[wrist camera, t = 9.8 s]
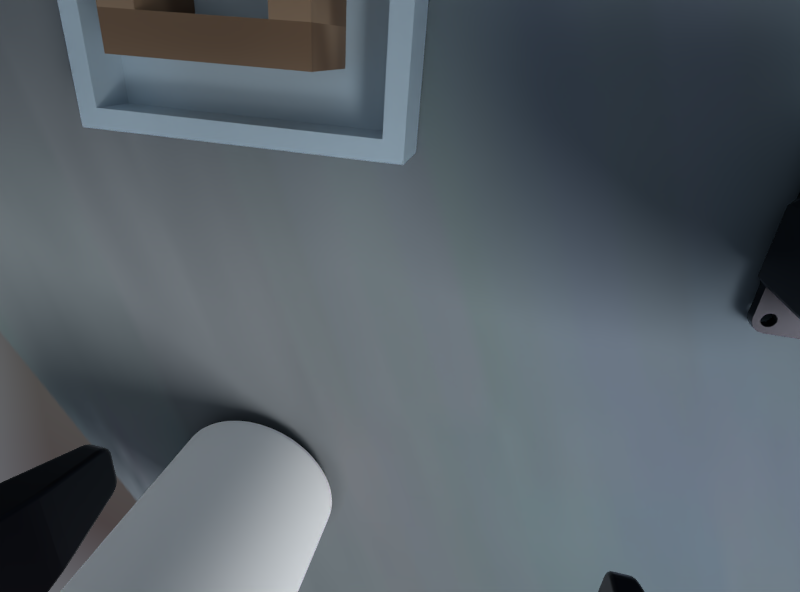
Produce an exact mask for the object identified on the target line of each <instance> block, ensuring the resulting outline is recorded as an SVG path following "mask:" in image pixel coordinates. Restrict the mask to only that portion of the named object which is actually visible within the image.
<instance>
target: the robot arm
mask: <svg viewBox="0 0 800 592" xmlns="http://www.w3.org/2000/svg"><path fill="white" fill-rule="evenodd" d="M758 277H759V278H760V280H761V284H760V286H759V288H758V291H757V293H756V295H755V298H754V300H753V302H752V305H751V307H750V309H749V312H748V316H747V318H748V321H749V323H750V324H751V325H752V327H753V328H754V329H755V330H757V331H758V332H761V333H765V334H772V335H778V336H784V337H791V338H797V339H800V193H799V195H798V198H797V199H796V200H795V201H794V202H792V203H791V204H789V205H788V206H787V208H786V211H785V213H784V215H783V218H782V220H781V223H780V225H779V227H778V230H777V232H776V234H775V237H774V239H773V241H772V244H771V246H770V249H769V251H768V253H767V256H766V258H765V260H764V263H763V265H762V267H761V270H760V272H759V275H758ZM766 314H772V317H771V318H770V319H769V320H767V321H762V322H761V321H760V319H761V318H762V317H763V316H764V315H766ZM116 483H117V479H116V474H115V470H114V465H113V461H112V457H111V453H110V451H109V450H108V449H106V448H103V447H99V446H95V445H84V446H81V447H79V448H77V449H74V450H72V451H70V452H68V453H66V454H63V455H61V456H59V457H57V458H55V459H52V460H50V461H48V462H46V463H44V464H41V465H39V466H37V467H35V468H32V469H30V470H28V471H26V472H24V473H21V474H19V475H17V476H15V477H13V478H10V479H8V480H6V481H4V482H2V483H0V592H48V591H49V590H50V589H51V587H52V586H53V585H54V583H55V582H56V581H57V579H58V578H59V576H60V575H61V574H62V572H63V571H64V569H65V568H66V566H67V565H68V563H69V562H70V560H71V559H72V557H73V556H74V554H75V553H76V551H77V550H78V548H79V546H80V545H81V543H82V542H83V540H84V539H85V537H86V535H87V534H88V532H89V531H90V529H91V527H92V526H93V524H94V522H95V521H96V520H97V518H98V516H99V515H100V513H101V512H102V510H103V508H104V507H105V505H106V503H107V502H108V501H109V499H110V497H111V496H112V494H113V492H114V490H115V487H116ZM598 592H644V590H643V589H642V587H641V586H640V584H639V583H638V581H637V580H636V579H635V578H633V577H632V576H629V575H625V574H621V573H617V572H613V571H609V572H607V573H606V575H605V576H604V579H603V581H602V584H601V586H600V588H599V591H598Z"/></svg>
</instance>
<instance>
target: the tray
mask: <svg viewBox="0 0 800 592" xmlns="http://www.w3.org/2000/svg"><path fill="white" fill-rule="evenodd" d="M57 2H58V7H59V12H60V17H61V22H62V27H63V32H64V37H65V42H66V47H67V52H68V57H69V62H70V67H71V71H72V76H73V81H74V86H75V91H76V96H77V101H78V106H79V111H80V116H81V121H82V126H83V127H87V128H95V129H103V130H112V131H120V132H129V133H137V134H146V135H154V136H163V137H171V138H179V139H188V140H196V141H205V142H213V143H222V144H230V145H238V146H247V147H255V148H264V149H272V150H281V151H289V152H297V153H306V154H314V155H323V156H331V157H340V158H348V159H357V160H365V161H373V162H382V163H390V164H399V165H404V164H405V163H406V162H407V161H408V160H409V159H410V158H411V157H412V156H413V155H414V154H415V153H416V147H417V135H418V123H419V111H420V98H421V86H422V74H423V62H424V50H425V38H426V26H427V14H428V2H429V0H347V8H346V61H345V69H337V70H327V71H317V72H306V71H295V70H283V69H272V68H261V67H250V66H239V65H227V64H216V63H205V62H194V61H183V60H171V59H160V58H149V57H138V56H127V55H115V54H105V52H104V46H103V41H102V35H101V29H100V23H99V17H98V12H97V6H96V0H57ZM194 6H195V14H206V15H219V16H233V17H247V18H260V19H268V0H194Z"/></svg>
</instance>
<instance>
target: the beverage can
mask: <svg viewBox="0 0 800 592" xmlns="http://www.w3.org/2000/svg"><path fill="white" fill-rule="evenodd" d="M331 507H332V496H331V490H330V486H329V483H328V481H327V478H326V476H325V474H324V472H323V471H322V469H321V467H320V466H319V465H318V463H317V462H316V461H315V459H314V458H313V457H312V456H311V455H310V454H309V453H308V452H307V451H306V450H305V449H304V448H303V447H302V446H300V445H299V444H298V443H297V442H295V441H294V440H292V439H291V438H289V437H288V436H286V435H284V434H282V433H281V432H278V431H276V430H274V429H272V428H269V427H267V426H264V425H260V424H257V423H252V422H246V421H223V422H218V423H214V424H211V425H209V426H207V427H205V428H203V429H201V430H200V431H198V432H197V433H196V434H195V435H194V436H193V437H192V438H191V439H190V440H189V442H188V443H187V444H186V445H185V446H184V447H183V449H182V450H181V451H180V452H179V453H178V454H177V456H176V457H175V458H174V459H173V460H172V461H171V463H170V464H169V465H168V466H167V467H166V468H165V470H164V471H163V472H162V473H161V474H160V475H159V477H158V478H157V479H156V480H155V481H154V482H153V484H152V485H151V486H150V487H149V488H148V489H147V491H146V492H145V493H144V494H143V495H142V496H141V498H140V499H139V500H138V501H137V502H136V503H135V505H134V506H133V507H132V508H131V509H130V511H129V512H128V513H127V514H126V515H125V516H124V517H123V519H122V520H121V521H120V522H119V523H118V524H117V526H116V527H115V528H114V529H113V530H112V531H111V533H110V534H109V535H108V536H107V537H106V538H105V540H104V541H103V542H102V543H101V544H100V545H99V547H98V548H97V549H96V550H95V551H94V552H93V554H92V555H91V556H90V557H89V558H88V559H87V561H86V562H85V563H84V564H83V565H82V566H81V568H80V569H79V570H78V571H77V572H76V574H75V575H74V576H73V577H72V578H71V579H70V580H69V582H68V583H67V584H66V585H65V587H63V589H62V590H61V591H60V592H298V590H299V588H300V586H301V583H302V581H303V578H304V576H305V573H306V571H307V569H308V566H309V564H310V561H311V559H312V557H313V554H314V552H315V549H316V547H317V545H318V542H319V540H320V537H321V535H322V533H323V530H324V528H325V525H326V523H327V521H328V518H329V515H330V512H331Z"/></svg>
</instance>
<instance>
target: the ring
mask: <svg viewBox="0 0 800 592" xmlns="http://www.w3.org/2000/svg"><path fill="white" fill-rule="evenodd" d="M96 6H97V12H98V17H99V23H100V29H101V35H102V41H103V46H104V52H105V54H115V55H127V56H138V57H149V58H160V59H171V60H183V61H194V62H205V63H216V64H227V65H239V66H250V67H261V68H272V69H283V70H295V71H306V72H317V71H327V70H337V69H345V61H346V8H347V0H268V19H260V18H247V17H233V16H219V15H206V14H195V6H194V0H96Z"/></svg>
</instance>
